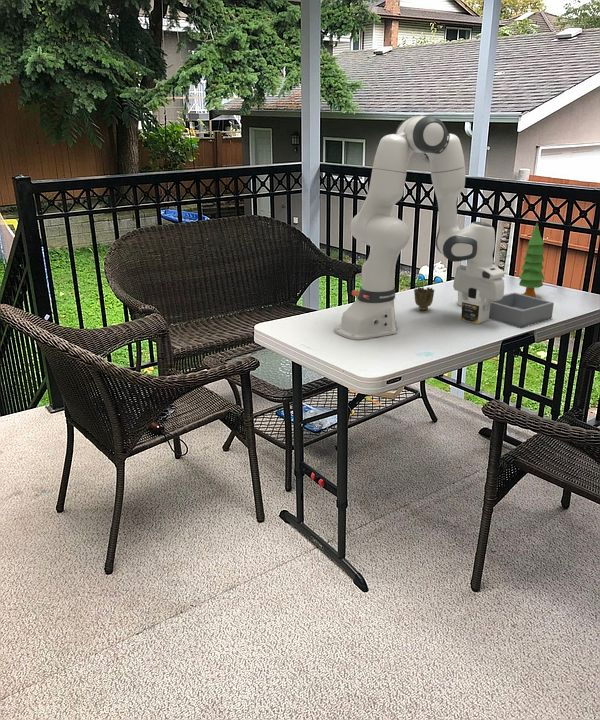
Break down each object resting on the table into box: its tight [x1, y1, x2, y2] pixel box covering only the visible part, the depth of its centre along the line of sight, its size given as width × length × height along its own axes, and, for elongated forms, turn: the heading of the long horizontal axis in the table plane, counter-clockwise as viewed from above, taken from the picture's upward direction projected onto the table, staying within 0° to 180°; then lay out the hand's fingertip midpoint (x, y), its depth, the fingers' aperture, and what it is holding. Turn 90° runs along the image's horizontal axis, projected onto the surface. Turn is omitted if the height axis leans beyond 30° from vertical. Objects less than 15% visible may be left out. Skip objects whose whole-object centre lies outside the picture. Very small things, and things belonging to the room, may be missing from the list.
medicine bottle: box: [460, 288, 490, 325], centre depth 225 cm, size 7×7×12 cm
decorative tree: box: [518, 222, 546, 298], centre depth 247 cm, size 10×9×30 cm
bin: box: [489, 291, 555, 329], centre depth 228 cm, size 17×17×6 cm
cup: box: [413, 286, 435, 312], centre depth 238 cm, size 8×7×8 cm
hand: (476, 307), depth 225 cm, fingers closed on medicine bottle, 7 cm apart
